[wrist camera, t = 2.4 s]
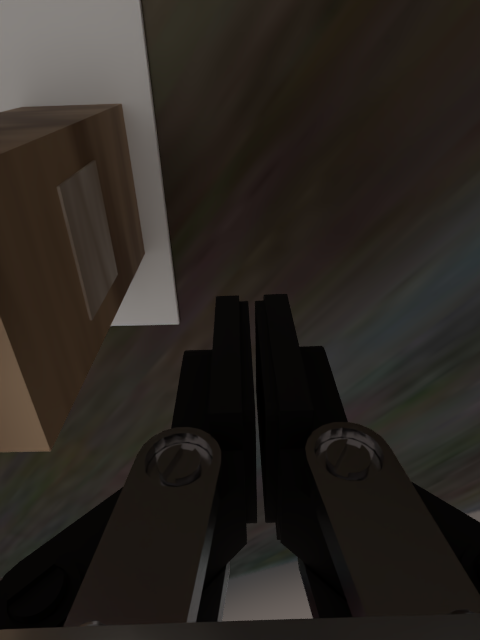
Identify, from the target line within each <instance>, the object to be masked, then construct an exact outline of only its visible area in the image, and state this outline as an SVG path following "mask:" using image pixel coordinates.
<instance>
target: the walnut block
mask: <svg viewBox="0 0 480 640" xmlns="http://www.w3.org/2000/svg"><path fill="white" fill-rule="evenodd" d="M144 255H145V250H144V243H143V237H142V231H141V224H140V218H139V211H138V205H137V198H136V192H135V185H134V179H133V173H132V166H131V160H130V153H129V147H128V140H127V134H126V128H125V121H124V115H123V108H122V104H93V105H63V106H33V107H19V108H15V109H11V110H7V111H3V112H0V452H34V451H51V449H52V447H53V445H54V443H55V441H56V439H57V437H58V435H59V433H60V431H61V428H62V426H63V424H64V422H65V420H66V418H67V416H68V414H69V412H70V410H71V408H72V405H73V403H74V401H75V399H76V397H77V395H78V393H79V391H80V389H81V387H82V385H83V382H84V380H85V378H86V376H87V374H88V372H89V370H90V368H91V366H92V364H93V361H94V359H95V357H96V355H97V353H98V351H99V349H100V347H101V345H102V343H103V341H104V338H105V336H106V334H107V332H108V330H109V328H110V326H111V324H112V322H113V320H114V318H115V315H116V313H117V311H118V309H119V307H120V305H121V303H122V301H123V299H124V297H125V295H126V292H127V290H128V288H129V286H130V284H131V282H132V280H133V278H134V276H135V274H136V272H137V269H138V267H139V265H140V263H141V261H142V259H143V257H144Z"/></svg>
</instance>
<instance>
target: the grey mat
mask: <svg viewBox="0 0 480 640" xmlns="http://www.w3.org/2000/svg"><path fill="white" fill-rule="evenodd" d="M93 104H122V108H123V115H124V121H125V128H126V134H127V140H128V147H129V153H130V160H131V166H132V173H133V179H134V185H135V192H136V198H137V205H138V211H139V218H140V224H141V231H142V237H143V243H144V250H145V255H144V257H143V259H142V261H141V263H140V265H139V267H138V269H137V272H136V274H135V276H134V278H133V280H132V282H131V284H130V286H129V288H128V290H127V292H126V295H125V297H124V299H123V301H122V303H121V305H120V307H119V309H118V311H117V313H116V315H115V318H114V320H113V322H112V324H111V326H127V325H167V324H179V322H180V319H179V311H178V302H177V294H176V286H175V278H174V269H173V261H172V253H171V245H170V236H169V228H168V220H167V212H166V203H165V195H164V187H163V178H162V170H161V162H160V154H159V145H158V137H157V129H156V121H155V112H154V104H153V96H152V88H151V79H150V71H149V63H148V55H147V46H146V38H145V30H144V22H143V13H142V5H141V0H0V112H3V111H7V110H11V109H15V108H19V107H33V106H63V105H93Z"/></svg>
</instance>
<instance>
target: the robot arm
mask: <svg viewBox="0 0 480 640" xmlns="http://www.w3.org/2000/svg"><path fill="white" fill-rule="evenodd" d="M255 333H256V396H257V412H258V426H259V440H260V454H261V468H262V482H263V496H264V510H265V522H266V523H276V533H277V540H281V543H282V544H283V545H284V546H285V547H287V548H288V549H289V550H290V551H291V552H293V553H294V554H295V555H296V556H297V557H298V564H299V571H300V574H301V578H302V581H303V585H304V589H305V592H306V596H307V599H308V603H309V606H310V610H311V613H312V617H313V619H286V620H285V619H284V620H253V621H226V622H222V617H223V610H224V604H225V598H226V591H227V584H228V578H229V571H230V566H229V561H230V560H231V559H232V558H233V557H234V556H235V555H236V554H237V553H238V552H239V551H240V550H241V549H242V548H243V547H244V546H245V545H246V544H247V531H246V523H257V490H256V427H255V401H254V385H253V370H252V354H251V339H250V323H249V308H248V301H241V302H239V296H216V307H215V322H214V336H213V350H189V351H185V352H184V355H183V361H182V367H181V373H180V379H179V385H178V391H177V397H176V403H175V409H174V415H173V421H172V427H171V429H168V430H164V431H162V432H160V433H158V434H157V435H155V436H153V437H152V438H150V439H149V440H148V441H147V442H146V443H145V444H144V445H143V446H142V448H141V449H140V451H139V452H138V454H137V456H136V458H135V461H134V463H133V465H132V468H131V470H130V472H129V475H128V477H127V479H126V482H125V484H124V486H123V487H122V488H121V489H120V490H118V491H117V492H116V493H114V494H113V495H111V496H110V497H109V498H107V499H106V500H104V501H103V502H102V503H100V504H99V505H98V506H96V507H95V508H93V509H92V510H91V511H89V512H88V513H87V514H85V515H84V516H82V517H81V518H80V519H78V520H77V521H75V522H74V523H73V524H71V525H70V526H69V527H67V528H66V529H64V530H63V531H62V532H60V533H59V534H58V535H56V536H55V537H53V538H52V539H51V540H49V541H48V542H46V543H45V544H44V545H42V546H41V547H40V548H38V549H37V550H35V551H34V552H33V553H31V554H30V555H28V556H27V557H26V558H24V559H23V560H22V561H20V562H19V563H18V564H17V565H16V566H14V567H13V568H12V569H11V570H10V571H9V572H8V573H7V574H5V576H4V577H3V578H0V640H480V522H478V521H476V520H475V519H473V518H471V517H470V516H468V515H466V514H465V513H463V512H461V511H460V510H458V509H456V508H455V507H453V506H451V505H450V504H448V503H446V502H445V501H443V500H441V499H439V498H438V497H436V496H434V495H433V494H431V493H429V492H428V491H426V490H424V489H423V488H421V487H419V486H418V485H416V484H414V483H413V482H411V481H410V479H409V478H408V476H407V474H406V473H405V471H404V469H403V468H402V466H401V464H400V463H399V461H398V459H397V458H396V456H395V454H394V453H393V451H392V449H391V448H390V446H389V445H388V444H387V443H386V441H385V440H384V439H383V438H382V437H381V436H380V435H378V434H377V433H376V432H374V431H373V430H371V429H369V428H367V427H364V426H362V425H360V424H355V423H350V422H348V421H347V418H346V415H345V412H344V409H343V406H342V402H341V399H340V396H339V393H338V390H337V387H336V384H335V380H334V377H333V374H332V371H331V368H330V365H329V362H328V358H327V355H326V352H325V350H324V347H322V346H309V347H299V343H298V339H297V335H296V331H295V326H294V322H293V318H292V313H291V309H290V305H289V301H288V296H287V294H272V295H264V301H255Z"/></svg>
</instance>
